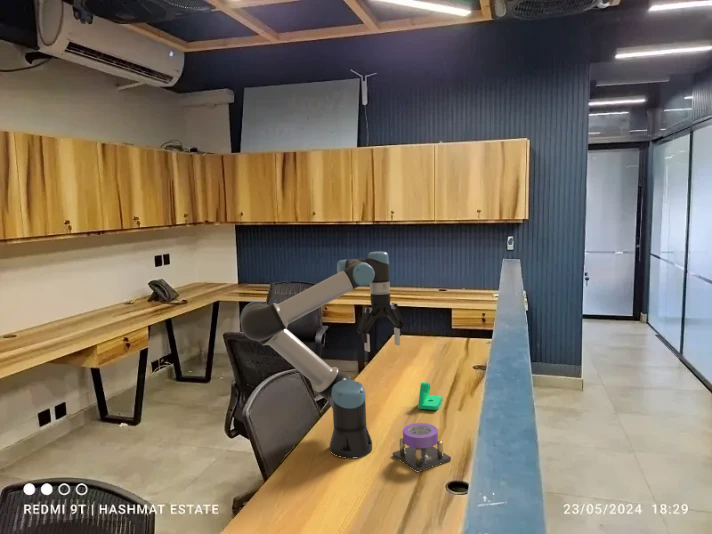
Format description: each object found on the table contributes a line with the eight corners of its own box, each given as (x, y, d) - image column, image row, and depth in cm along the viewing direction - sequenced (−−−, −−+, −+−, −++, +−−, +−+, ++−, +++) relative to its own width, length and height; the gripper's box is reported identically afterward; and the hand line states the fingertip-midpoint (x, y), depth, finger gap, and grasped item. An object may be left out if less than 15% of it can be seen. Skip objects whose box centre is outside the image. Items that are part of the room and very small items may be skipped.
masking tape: (417, 451, 172) (417, 440, 171) (396, 439, 181) (395, 428, 181) (445, 442, 178) (445, 431, 177) (423, 430, 187) (422, 420, 187)
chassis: (417, 472, 171) (416, 454, 170) (392, 455, 183) (392, 438, 182) (451, 460, 178) (450, 442, 177) (425, 445, 190) (424, 428, 189)
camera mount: (436, 412, 219) (435, 388, 218) (418, 410, 222) (417, 387, 221) (443, 402, 230) (442, 379, 229) (425, 400, 233) (424, 377, 232)
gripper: (356, 298, 191) (359, 355, 193) (413, 289, 203) (415, 344, 205) (346, 295, 197) (349, 351, 200) (401, 287, 209) (403, 340, 212)
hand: (382, 347), depth 203 cm, fingers open, 13 cm apart
